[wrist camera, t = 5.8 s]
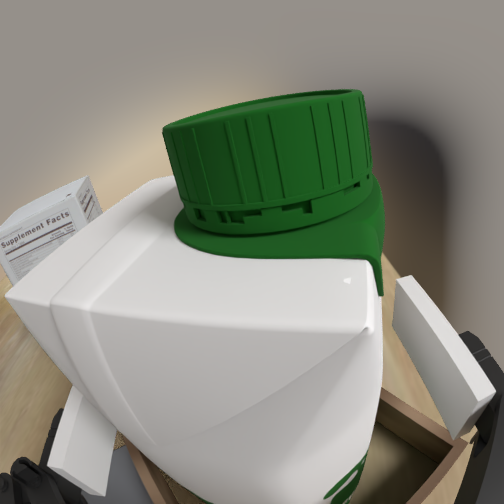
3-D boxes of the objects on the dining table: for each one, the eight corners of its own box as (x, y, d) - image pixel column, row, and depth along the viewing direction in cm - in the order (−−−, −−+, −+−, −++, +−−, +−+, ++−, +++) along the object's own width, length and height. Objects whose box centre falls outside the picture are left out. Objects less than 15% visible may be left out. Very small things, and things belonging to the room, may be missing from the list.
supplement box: (146, 303, 36) (92, 172, 28) (156, 353, 29) (79, 190, 21) (79, 329, 34) (16, 207, 26) (75, 381, 26) (-15, 237, 18)
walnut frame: (141, 454, 19) (122, 436, 17) (302, 354, 25) (298, 329, 24) (257, 620, 7) (245, 628, 6) (453, 461, 13) (468, 442, 12)
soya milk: (346, 543, 11) (461, 125, 1) (200, 517, 14) (-60, 233, 4) (365, 425, 18) (367, 83, 8) (241, 414, 21) (132, 128, 12)
